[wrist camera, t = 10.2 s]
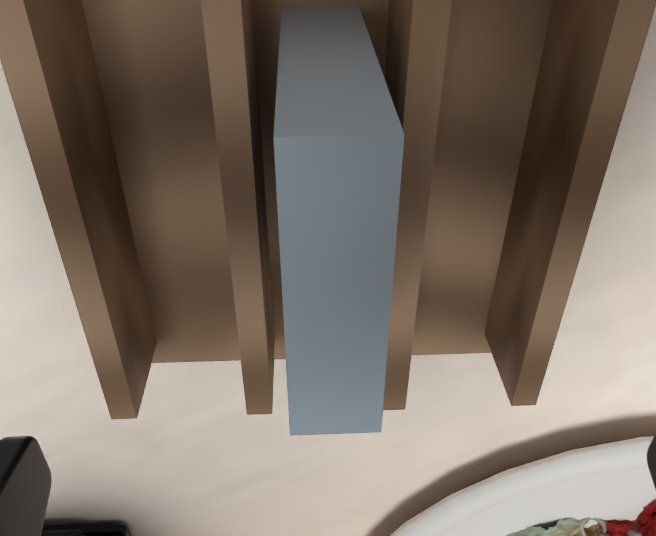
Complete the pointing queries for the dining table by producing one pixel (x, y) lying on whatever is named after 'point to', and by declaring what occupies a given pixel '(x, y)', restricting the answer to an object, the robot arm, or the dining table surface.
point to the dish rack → (260, 178)
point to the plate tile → (335, 218)
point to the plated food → (553, 498)
